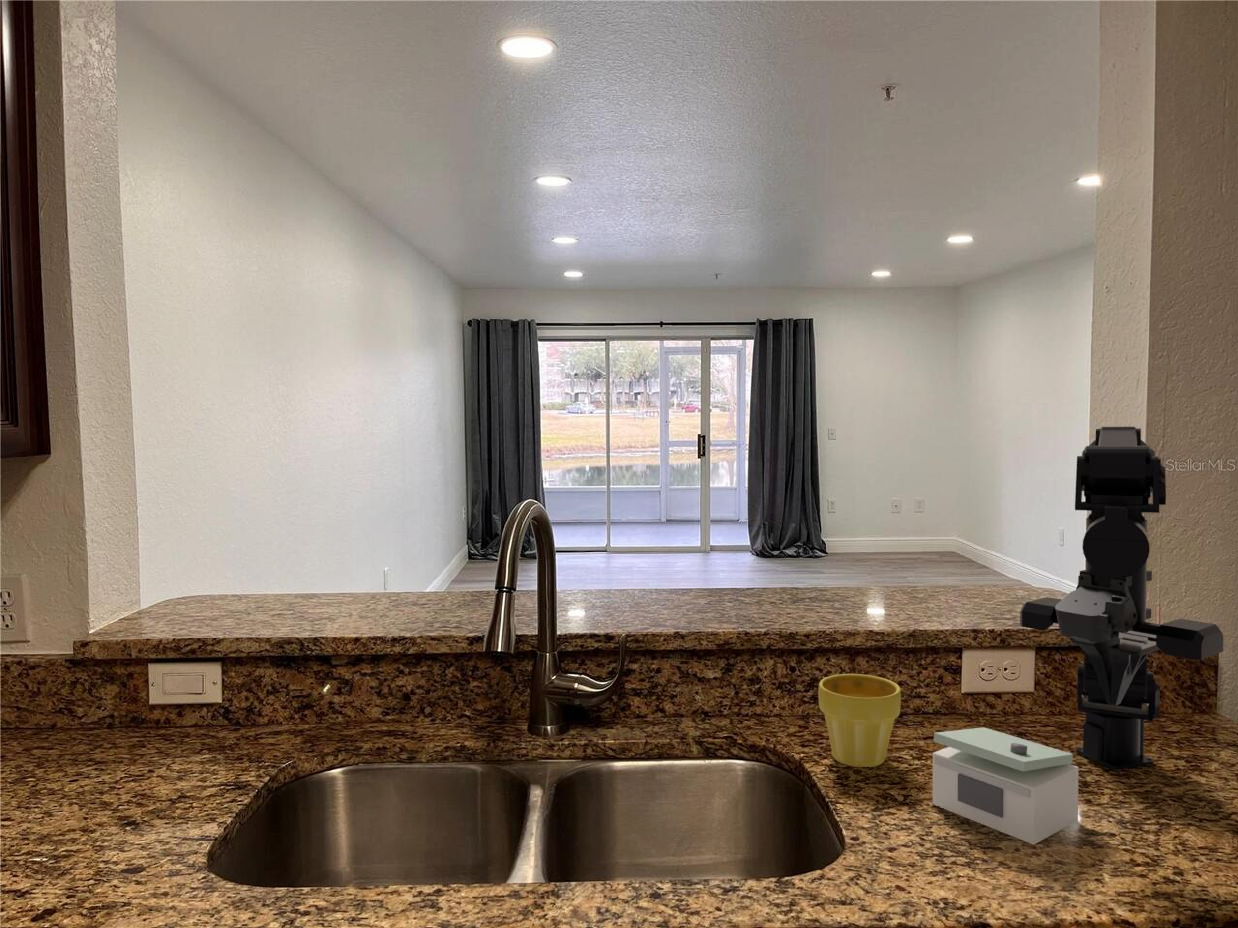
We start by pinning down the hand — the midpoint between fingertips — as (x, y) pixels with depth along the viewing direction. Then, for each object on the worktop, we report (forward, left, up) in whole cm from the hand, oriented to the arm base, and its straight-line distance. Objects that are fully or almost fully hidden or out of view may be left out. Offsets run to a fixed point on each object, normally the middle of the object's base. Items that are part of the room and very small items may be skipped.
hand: (1114, 704), depth 94 cm
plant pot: (+17, -24, -13) cm, 32 cm away
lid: (+10, -5, -6) cm, 13 cm away
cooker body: (+10, -5, -13) cm, 17 cm away
